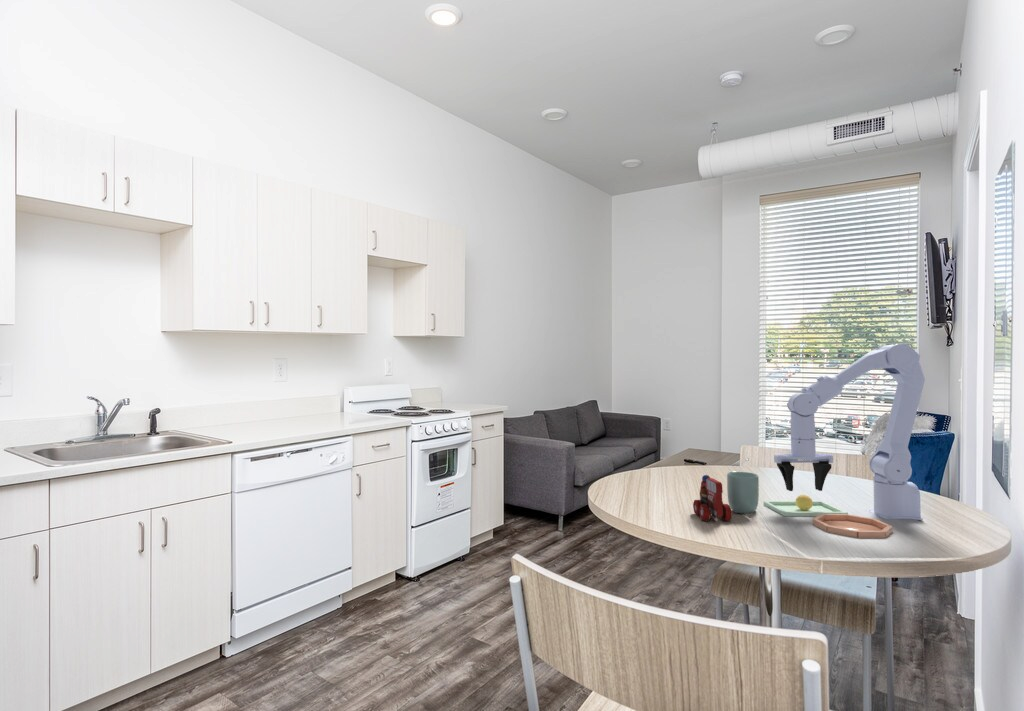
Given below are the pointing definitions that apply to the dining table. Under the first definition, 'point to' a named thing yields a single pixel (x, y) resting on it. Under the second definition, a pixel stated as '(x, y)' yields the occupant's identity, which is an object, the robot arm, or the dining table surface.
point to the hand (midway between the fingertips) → (804, 490)
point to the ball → (804, 502)
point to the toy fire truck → (711, 501)
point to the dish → (853, 525)
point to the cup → (743, 491)
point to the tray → (792, 510)
